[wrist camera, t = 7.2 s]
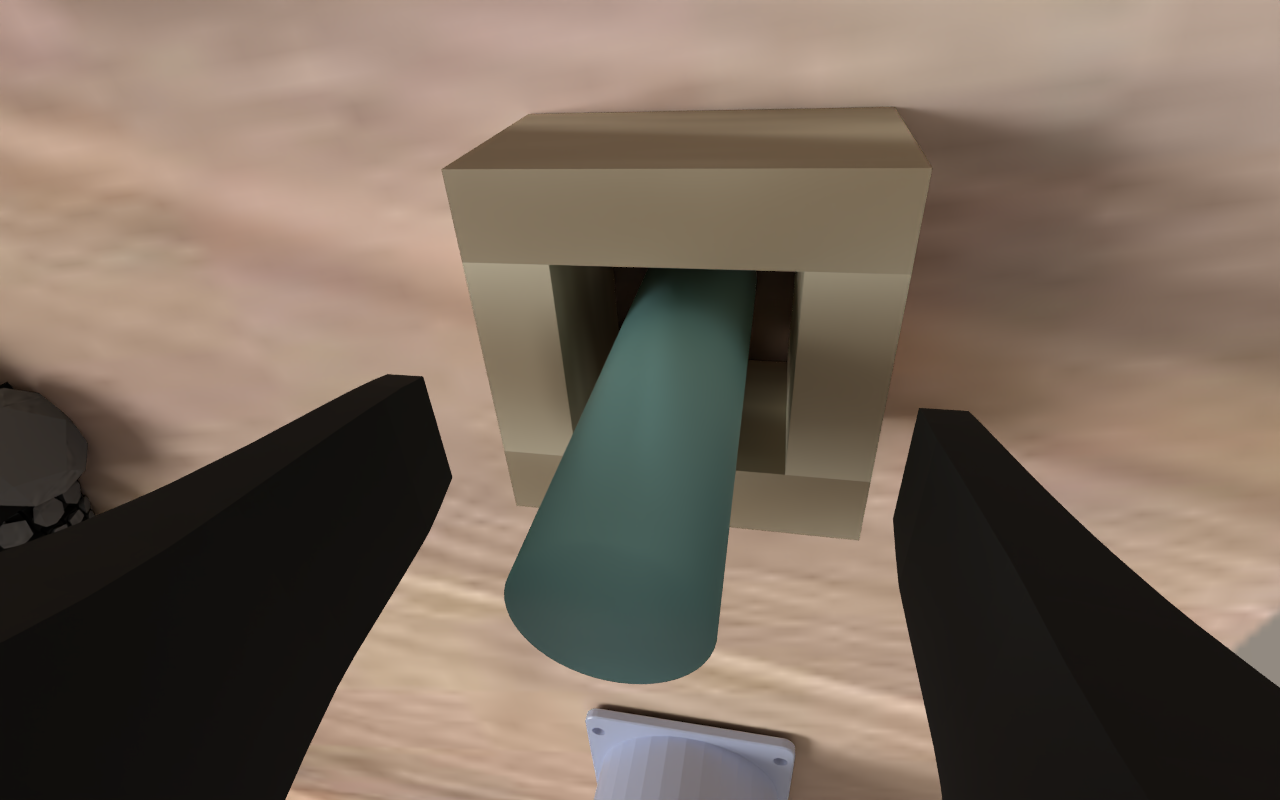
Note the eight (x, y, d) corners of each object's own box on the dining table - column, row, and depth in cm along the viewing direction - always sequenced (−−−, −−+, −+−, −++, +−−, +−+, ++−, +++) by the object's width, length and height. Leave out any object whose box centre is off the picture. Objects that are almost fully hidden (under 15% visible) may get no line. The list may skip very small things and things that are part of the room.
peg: (755, 329, 15) (718, 696, 8) (652, 327, 15) (525, 669, 8) (757, 226, 13) (714, 554, 6) (644, 228, 14) (483, 533, 7)
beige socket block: (845, 418, 16) (859, 540, 12) (569, 399, 17) (516, 505, 14) (894, 106, 12) (932, 167, 8) (528, 114, 13) (441, 169, 10)
